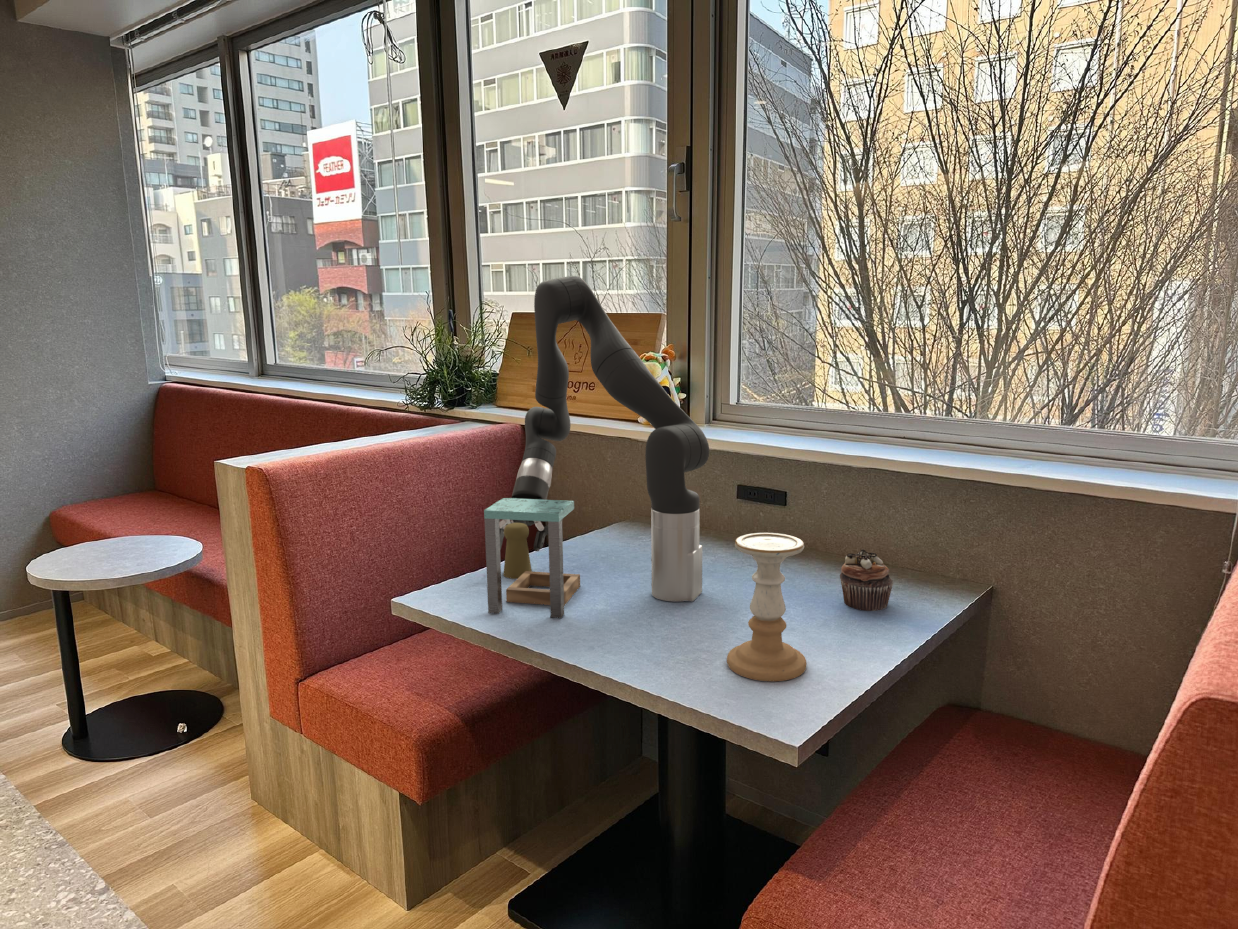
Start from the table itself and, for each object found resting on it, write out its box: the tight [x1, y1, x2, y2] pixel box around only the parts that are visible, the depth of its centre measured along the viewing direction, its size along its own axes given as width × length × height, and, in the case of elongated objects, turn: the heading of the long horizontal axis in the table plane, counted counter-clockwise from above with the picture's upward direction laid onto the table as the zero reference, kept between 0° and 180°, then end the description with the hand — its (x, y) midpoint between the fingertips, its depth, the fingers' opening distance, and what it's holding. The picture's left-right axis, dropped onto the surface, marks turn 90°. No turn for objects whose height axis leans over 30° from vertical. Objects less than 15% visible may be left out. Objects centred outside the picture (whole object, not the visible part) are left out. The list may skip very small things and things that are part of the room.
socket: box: [505, 570, 581, 607], centre depth 167 cm, size 12×12×2 cm
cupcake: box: [839, 549, 894, 612], centre depth 159 cm, size 10×10×10 cm
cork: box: [503, 523, 533, 580], centre depth 178 cm, size 6×6×11 cm
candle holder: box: [726, 532, 808, 682], centre depth 131 cm, size 12×12×20 cm
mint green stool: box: [483, 497, 575, 619], centre depth 158 cm, size 10×14×20 cm
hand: (516, 548), depth 178 cm, fingers open, 8 cm apart
